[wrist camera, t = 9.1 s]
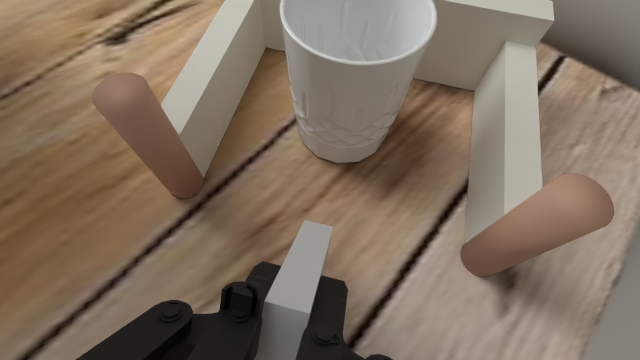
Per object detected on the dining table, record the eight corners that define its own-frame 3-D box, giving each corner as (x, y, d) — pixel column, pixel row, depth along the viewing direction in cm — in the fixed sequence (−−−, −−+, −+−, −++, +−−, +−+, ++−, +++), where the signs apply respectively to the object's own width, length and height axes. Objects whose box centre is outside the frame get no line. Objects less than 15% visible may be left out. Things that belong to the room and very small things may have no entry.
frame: (498, 281, 21) (618, 235, 13) (162, 193, 23) (81, 107, 15) (501, 78, 28) (576, -29, 20) (250, 27, 30) (228, -89, 22)
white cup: (383, 84, 28) (417, -42, 19) (403, 167, 24) (457, 59, 15) (287, 90, 27) (276, -38, 18) (293, 175, 24) (283, 69, 15)
